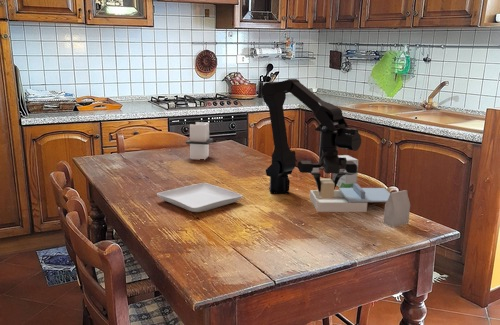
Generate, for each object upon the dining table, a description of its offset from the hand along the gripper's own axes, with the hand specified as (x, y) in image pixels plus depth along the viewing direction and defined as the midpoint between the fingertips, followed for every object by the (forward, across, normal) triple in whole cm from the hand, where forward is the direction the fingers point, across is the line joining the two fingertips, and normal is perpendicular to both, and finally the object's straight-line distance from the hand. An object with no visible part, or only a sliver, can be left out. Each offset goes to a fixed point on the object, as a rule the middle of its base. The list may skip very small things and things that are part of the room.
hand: (325, 191), depth 159 cm
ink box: (+5, +12, +20) cm, 24 cm away
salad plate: (+5, -42, +3) cm, 42 cm away
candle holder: (+5, -45, +68) cm, 82 cm away
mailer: (+4, +4, 0) cm, 6 cm away
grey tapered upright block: (+5, +18, -17) cm, 25 cm away
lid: (+1, +14, 0) cm, 14 cm away
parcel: (+1, 0, 0) cm, 1 cm away
